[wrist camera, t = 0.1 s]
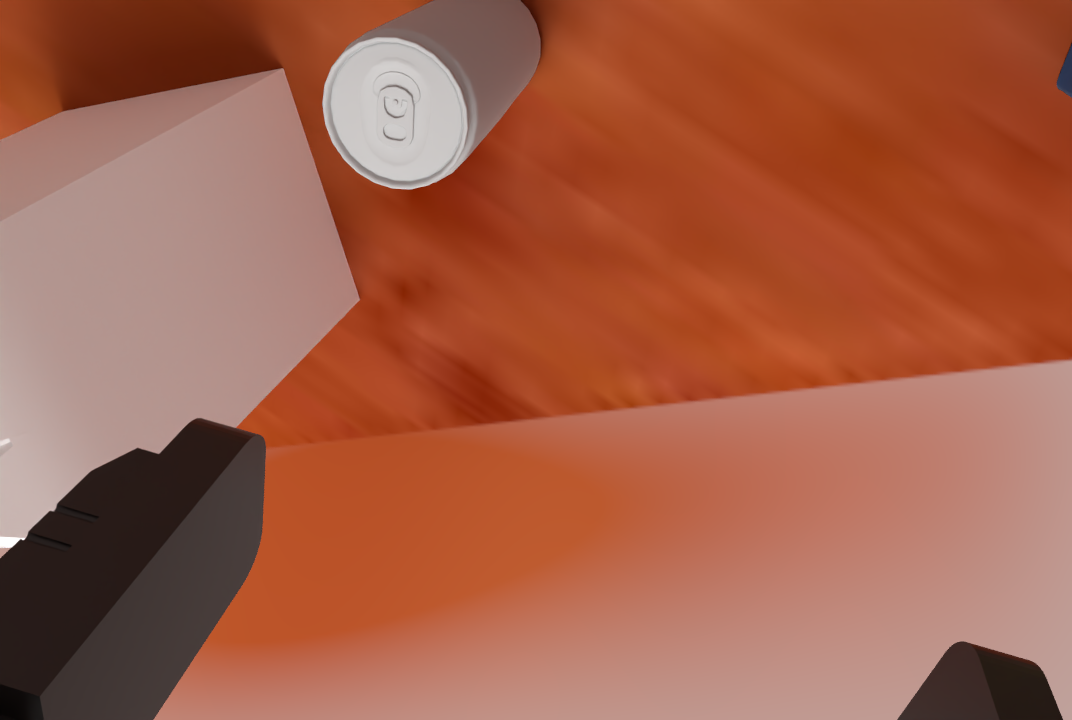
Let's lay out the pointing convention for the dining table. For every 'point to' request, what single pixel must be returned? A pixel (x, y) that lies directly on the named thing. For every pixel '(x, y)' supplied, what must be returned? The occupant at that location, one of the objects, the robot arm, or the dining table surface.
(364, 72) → the beverage can
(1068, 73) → the protein box
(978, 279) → the dining table surface
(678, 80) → the dining table surface
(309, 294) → the milk
